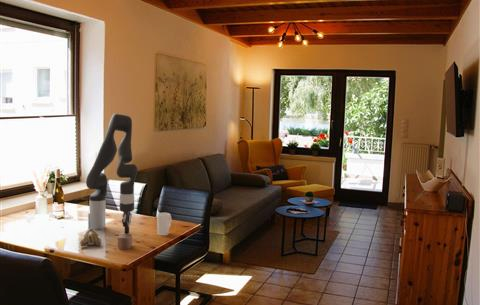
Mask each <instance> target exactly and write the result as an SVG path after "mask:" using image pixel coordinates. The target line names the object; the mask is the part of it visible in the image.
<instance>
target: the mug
mask: <svg viewBox="0 0 480 305" xmlns="http://www.w3.org/2000/svg"><path fill="white" fill-rule="evenodd" d="M156 216H157V218H156V220H157V222H156V223H157V236H158V235H159V236H168V235H169V230H170V228H171V225H172V220H173V219H172V216H171V213H169V212H159V213H157V214H156Z"/></svg>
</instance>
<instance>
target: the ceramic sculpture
mask: <svg viewBox="0 0 480 305" xmlns="http://www.w3.org/2000/svg"><path fill="white" fill-rule="evenodd" d="M101 244H102V238H100V237H99V234H98V232H97V231H96V229H92V228H90V229H87V230H86V231H85V233H84V235H83V238H82V239H81V240H80V246H81V247H85V246H94V245H96V246H100V245H101Z"/></svg>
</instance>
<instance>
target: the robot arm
mask: <svg viewBox="0 0 480 305" xmlns="http://www.w3.org/2000/svg"><path fill="white" fill-rule="evenodd" d="M116 131H117V132H123V133H124V137H123V138H122V140H121V142H120V143H119V145H118V148H117V144H116V141H115V133H116ZM132 131H133V122H132V118H131V117H130V116H129V115H126V114H121V113H113V114H112V115H111V117H110V120H109V123H108V126H107V130H106V134H105V136H104V138H103V139H104V140H103V141H102V143H101V145H100V148H99V151H98V153H97V156H96V157H95V158H96V159H95V161H94V163H93V166H92V167H91V169H90V171H89V173H88V174H87V176H86V181H85V185H86V187H87V188H88V189H90V190H94V192H92V193H91V194H90V195H89V199H88V200H89V201H88V203H89V208H88V209H89V212H87V214H88V215H87V216H88V218H87V219H88V220H87V225H88V227H87V230H89V229H90V228H92V229H94V230H103V229H105V228H106V225H107V224H106V197H107V189H108V178H107V174H106V173H105V172H103V171H104V170H105V169H106V168H107V167H108V166H109V165H110V164H111V163H113V161H114V159H115V157H116V155H117V154H118V164H117V167H116V176H117V177H119V178H122V179H123V178H125V179H126V178H128V180H126V181H123V182H121V183H120V186H119V188H120V189H119V211H120V212H123V214H122V215H121V216H122V219H121V224H122V226H123V227H124V233H125V234H130V226H131V222H132V215H133V214H132V212H133V211H135V182H136V177H137V175H138V166H137V165H136V164H134V163H131V162H132V161H133V152H132V133H133V132H132Z"/></svg>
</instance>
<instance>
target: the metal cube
mask: <svg viewBox="0 0 480 305" xmlns="http://www.w3.org/2000/svg"><path fill="white" fill-rule="evenodd" d="M132 245H133V234H132V233H128V234H125V232H124V233H123V232H122V233H120V234H119V235H118V237H117V247H118V248H117V249H120V250H130V249H131V248H132Z"/></svg>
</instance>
